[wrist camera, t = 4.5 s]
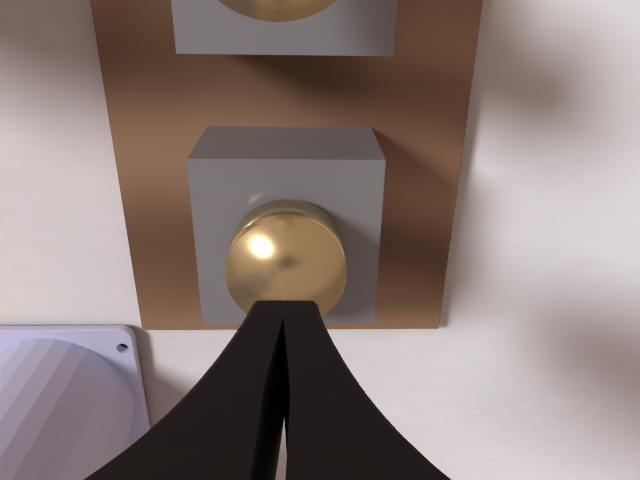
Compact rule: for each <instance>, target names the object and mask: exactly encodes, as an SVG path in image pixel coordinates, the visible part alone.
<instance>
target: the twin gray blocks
mask: <svg viewBox="0 0 640 480" xmlns="http://www.w3.org/2000/svg"><path fill="white" fill-rule="evenodd" d="M171 5H172V15H173V25H174V36H175V46H176V54H243V55H326V56H393V52H394V38H395V24H396V10H397V0H337V1H336V2H335V3H333V4H332V5H330V6H329V7H327V8H326V9H324V10H322V11H320V12H318V13H316V14H315V15H312V16H309V17H306V18H303V19H299V20H294V21H289V22H269V21H262V20H257V19H253V18H250V17H247V16H244V15H242V14H239V13H237V12H235V11H233V10H231V9H230V8H228V7H226V6H225V5H223V4H222V3H221V2H219V1H218V0H171ZM385 164H386V159H385V157H384V155H383V153H382V150H381V148H380V146H379V144H378V142H377V139H376V137H375V135H374V133H373V130H372V128H371V127H256V126H207V127H206V129H205V130H204V132H203V134H202V135H201V137H200V138H199V140H198V142H197V143H196V145H195V146H194V148H193V149H192V151H191V153H190V154H189V156H188V157H187V169H188V179H189V189H190V199H191V210H192V220H193V230H194V240H195V251H196V261H197V271H198V281H199V291H200V302H201V312H202V322H203V325H217V324H242V322H243V321H244V319H245V317H246V316H247V313H245V312H244V311H243V310H242V309H241V308H240V307H239V306H238V305H237V304H236V303H235V301H234V300H233V298H232V297H231V295H230V293H229V290H228V288H227V284H226V279H225V267H226V261H227V258H228V254H229V250H230V246H231V243H232V239H233V236H234V232H235V230H236V228H237V226H238V225H239V223H240V222H241V220H242V219H243V218H244V217H245V216H246V215H247V214H248V213H249V212H250V211H252V210H253V209H255V208H256V207H258V206H260V205H262V204H264V203H267V202H270V201H275V200H283V199H291V200H299V201H303V202H306V203H310V204H312V205H314V206H316V207H318V208H319V209H321V210H322V211H324V212H325V213H326V214H327V215H328V216H329V217H330V218H331V219H332V220H333V221H334V223H335V224H336V226H337V227H338V229H339V231H340V234H341V237H342V241H343V247H344V253H345V260H346V267H347V281H346V286H345V289H344V292H343V294H342V296H341V298H340V299H339V301H338V302H337V304H336V305H335V306H334V307H333V308H332V309H331V310H330V311H329V312H328V313H326V314H325V315H324V316H322V320H323V322H324V324H374V318H375V304H376V290H377V276H378V262H379V248H380V234H381V220H382V206H383V192H384V178H385Z"/></svg>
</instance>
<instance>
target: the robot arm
mask: <svg viewBox="0 0 640 480" xmlns="http://www.w3.org/2000/svg"><path fill="white" fill-rule="evenodd" d="M120 344H125V345H127V346H128V348H125V347H122V346H121V345H120ZM284 418H285V434H286V449H287V465H286V480H451V479H450V478H448V477H447V476H446V475H445V474H444V473H442V472H441V471H440V470H439V469H437V468H436V467H435V466H434V465H433V464H432V463H430V462H429V461H428V460H427V459H426V458H425V457H424V456H423V455H422V454H421V453H420V452H419V451H418V450H417V449H416V448H415V447H414V446H413V445H411V444H410V443H409V442H408V441H407V440H406V439H405V438H404V437H403V436H402V435H401V434H400V433H399V432H398V431H397V430H396V429H395V427H394V426H393V425H392V424H391V423H390V422H389V421H388V420H387V419H386V418H385V417H384V415H383V414H382V413H381V412H380V411H379V409H378V408H377V407H376V406H375V405H374V403H373V402H372V401H371V400H370V398H369V397H368V396H367V394H366V393H365V392H364V390H363V389H362V388H361V386H360V385H359V383H358V382H357V380H356V379H355V378H354V376H353V375H352V373H351V372H350V370H349V369H348V367H347V365H346V364H345V362H344V361H343V359H342V357H341V355H340V354H339V352H338V350H337V348H336V347H335V345H334V343H333V341H332V339H331V337H330V335H329V333H328V331H327V329H326V327H325V325H324V322H323V320H322V317H321V315H320V311H319V308H318V305H317V304H316V303H315V302H314V301H305V300H257V301H256V302H255V303H254V304H252V306H251V308H250V310H249V312H248V314H247V316H246V317H245V319H244V321H243V322H242V324H241V326H240V327H239V329H238V330H237V332H236V333H235V335H234V336H233V338H232V339H231V341H230V342H229V343H228V345H227V346H226V348H225V349H224V350H223V352H222V353H221V354H220V356H219V357H218V358H217V360H216V361H215V362H214V363H213V365H212V366H211V367H210V368H209V369H208V371H207V372H206V373H205V374H204V375H203V377H202V378H201V379H200V380H199V381H198V383H197V384H196V385H195V386H194V387H193V388H192V389H191V390H190V391H189V392H188V394H187V395H186V396H185V397H184V398H183V399H182V400H181V401H180V402H179V403H178V404H177V405H176V406H175V407H174V408H173V409H172V410H171V411H170V412H169V413H168V414H167V415H166V416H164V417H163V418H162V419H161V420H160V421H159V422H158V423H157V424H155V425H154V426H153V427H152V428H151V429H150V423H149V417H148V411H147V405H146V399H145V393H144V387H143V381H142V375H141V369H140V363H139V357H138V351H137V345H136V339H135V334H134V331H133V330H132V329H131V328H129V327H127V326H124V325H56V326H0V480H275V477H276V470H277V463H278V457H279V450H280V443H281V436H282V429H283V422H284Z"/></svg>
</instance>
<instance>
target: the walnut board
mask: <svg viewBox="0 0 640 480" xmlns="http://www.w3.org/2000/svg"><path fill="white" fill-rule="evenodd" d="M90 1H91V7H92V14H93V20H94V26H95V33H96V39H97V45H98V52H99V58H100V64H101V71H102V77H103V83H104V89H105V96H106V102H107V108H108V115H109V121H110V127H111V134H112V140H113V146H114V153H115V159H116V165H117V172H118V178H119V184H120V191H121V197H122V203H123V210H124V216H125V222H126V229H127V235H128V241H129V248H130V254H131V260H132V267H133V273H134V279H135V285H136V292H137V298H138V304H139V311H140V317H141V323H142V330H213V329H239V327H240V326H241V324H217V325H203V322H202V312H201V302H200V291H199V281H198V271H197V261H196V251H195V240H194V230H193V220H192V210H191V199H190V189H189V179H188V169H187V157H188V156H189V154H190V153H191V151H192V149H193V148H194V146H195V145H196V143H197V142H198V140H199V138H200V137H201V135H202V134H203V132H204V130H205V129H206V127H207V126H256V127H371V128H372V130H373V133H374V135H375V137H376V139H377V142H378V144H379V146H380V148H381V150H382V153H383V155H384V157H385V159H386V164H385V178H384V192H383V206H382V220H381V234H380V248H379V262H378V276H377V290H376V304H375V318H374V324H324V325H325V327H326V329H438V326H439V318H440V311H441V304H442V296H443V289H444V281H445V274H446V267H447V259H448V252H449V245H450V237H451V230H452V222H453V215H454V208H455V200H456V193H457V185H458V178H459V171H460V163H461V156H462V149H463V141H464V134H465V126H466V119H467V112H468V104H469V97H470V90H471V82H472V75H473V67H474V60H475V53H476V45H477V38H478V31H479V23H480V16H481V8H482V1H483V0H397V10H396V24H395V38H394V52H393V56H326V55H243V54H176V46H175V36H174V25H173V15H172V5H171V0H90Z"/></svg>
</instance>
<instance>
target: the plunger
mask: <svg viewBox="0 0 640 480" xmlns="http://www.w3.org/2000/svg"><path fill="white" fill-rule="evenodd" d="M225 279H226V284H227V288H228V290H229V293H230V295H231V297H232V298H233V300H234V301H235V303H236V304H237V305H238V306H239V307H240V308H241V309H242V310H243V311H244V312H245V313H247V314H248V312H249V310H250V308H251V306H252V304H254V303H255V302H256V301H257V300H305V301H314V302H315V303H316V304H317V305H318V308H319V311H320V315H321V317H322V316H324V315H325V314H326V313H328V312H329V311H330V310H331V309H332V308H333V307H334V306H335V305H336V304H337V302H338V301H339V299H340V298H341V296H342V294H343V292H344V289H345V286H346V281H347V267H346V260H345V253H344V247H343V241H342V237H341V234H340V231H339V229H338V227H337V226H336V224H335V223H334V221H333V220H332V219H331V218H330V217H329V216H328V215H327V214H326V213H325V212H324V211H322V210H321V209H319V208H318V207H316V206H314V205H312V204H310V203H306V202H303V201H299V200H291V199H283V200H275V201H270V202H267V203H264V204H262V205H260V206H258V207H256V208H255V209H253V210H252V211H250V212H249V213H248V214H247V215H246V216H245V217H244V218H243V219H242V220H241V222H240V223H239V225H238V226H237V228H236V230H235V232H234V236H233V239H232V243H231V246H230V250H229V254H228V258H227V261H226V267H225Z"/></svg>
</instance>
